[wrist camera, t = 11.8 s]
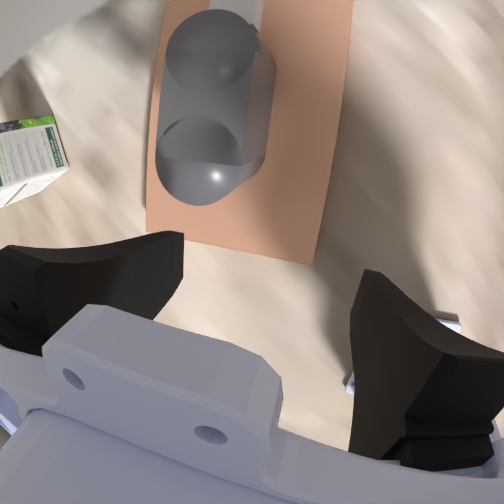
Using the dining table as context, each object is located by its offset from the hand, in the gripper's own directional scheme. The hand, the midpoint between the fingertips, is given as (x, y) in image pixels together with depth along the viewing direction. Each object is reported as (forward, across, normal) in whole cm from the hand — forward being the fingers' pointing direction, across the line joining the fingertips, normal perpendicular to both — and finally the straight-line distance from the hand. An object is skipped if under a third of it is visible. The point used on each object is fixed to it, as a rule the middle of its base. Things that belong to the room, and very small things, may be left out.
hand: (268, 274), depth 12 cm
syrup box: (+10, +23, -2) cm, 25 cm away
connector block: (+8, +4, -6) cm, 11 cm away
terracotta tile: (+9, +4, -6) cm, 12 cm away
